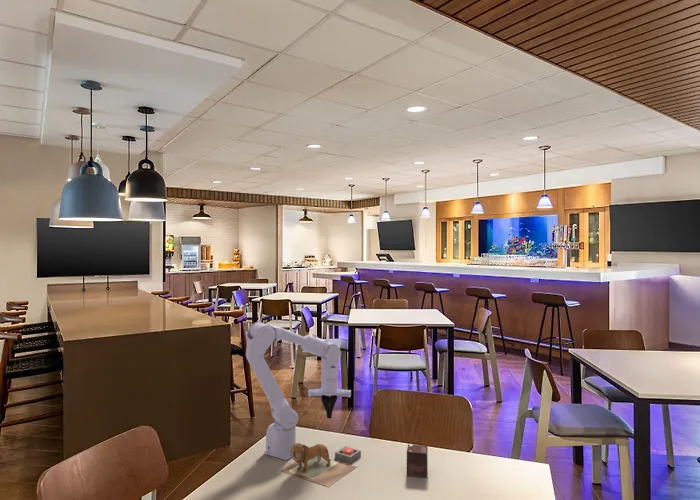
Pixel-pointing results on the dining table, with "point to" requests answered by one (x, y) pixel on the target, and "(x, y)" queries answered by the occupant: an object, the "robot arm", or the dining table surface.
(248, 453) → the dining table surface
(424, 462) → the box
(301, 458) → the lion figurine
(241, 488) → the dining table surface
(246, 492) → the dining table surface
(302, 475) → the picture sheet
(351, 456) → the button housing
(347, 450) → the button
